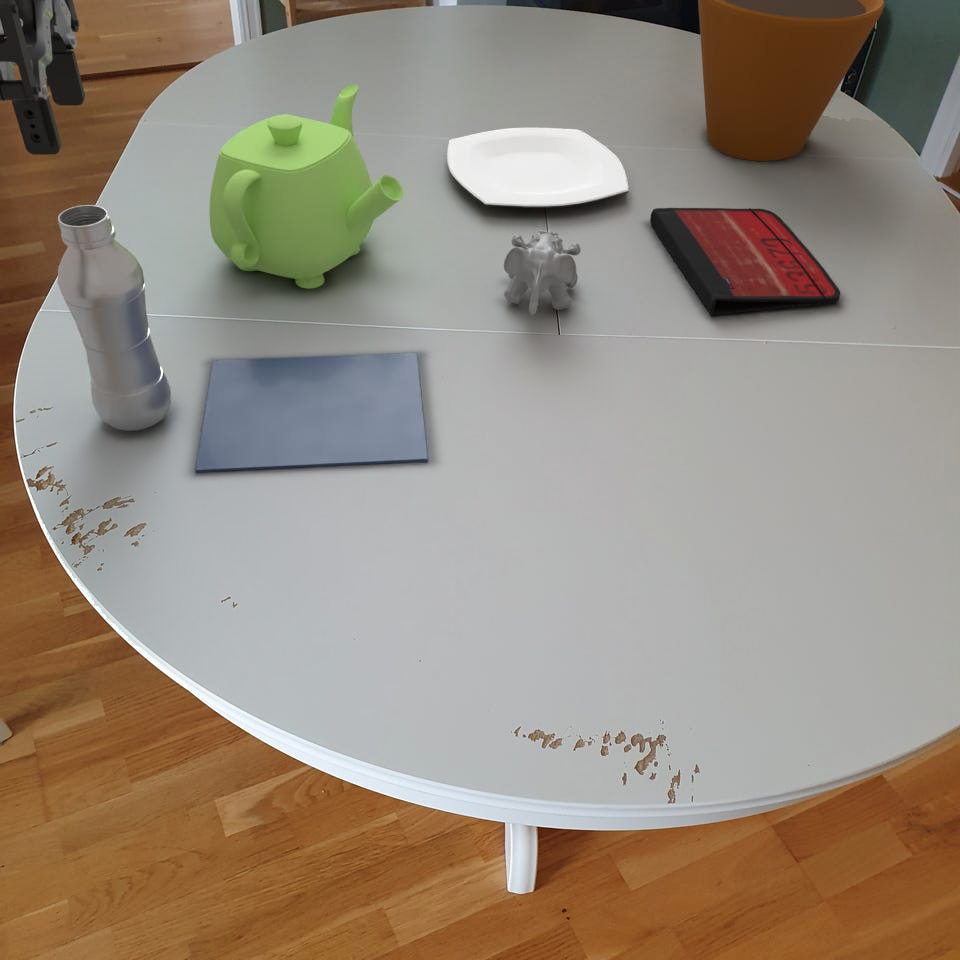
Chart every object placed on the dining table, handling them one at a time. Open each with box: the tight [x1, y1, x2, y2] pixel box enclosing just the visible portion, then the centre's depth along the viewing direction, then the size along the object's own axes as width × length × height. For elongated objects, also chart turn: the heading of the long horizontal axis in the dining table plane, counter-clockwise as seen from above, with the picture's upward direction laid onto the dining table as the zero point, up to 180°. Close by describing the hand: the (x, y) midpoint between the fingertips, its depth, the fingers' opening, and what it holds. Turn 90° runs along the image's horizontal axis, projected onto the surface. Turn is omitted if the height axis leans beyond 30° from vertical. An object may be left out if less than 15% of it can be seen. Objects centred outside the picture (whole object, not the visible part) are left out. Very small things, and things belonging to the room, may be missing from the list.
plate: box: [446, 127, 630, 209], centre depth 124 cm, size 23×23×2 cm
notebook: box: [649, 207, 841, 317], centre depth 109 cm, size 16×2×21 cm
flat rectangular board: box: [194, 352, 429, 473], centre depth 87 cm, size 20×16×1 cm
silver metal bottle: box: [56, 204, 172, 432], centre depth 79 cm, size 6×7×20 cm
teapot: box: [209, 83, 404, 289], centre depth 102 cm, size 25×22×16 cm
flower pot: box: [697, 0, 885, 162], centre depth 129 cm, size 24×24×20 cm
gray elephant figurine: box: [503, 229, 582, 315], centre depth 99 cm, size 9×12×8 cm
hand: (58, 127), depth 68 cm, fingers open, 8 cm apart
